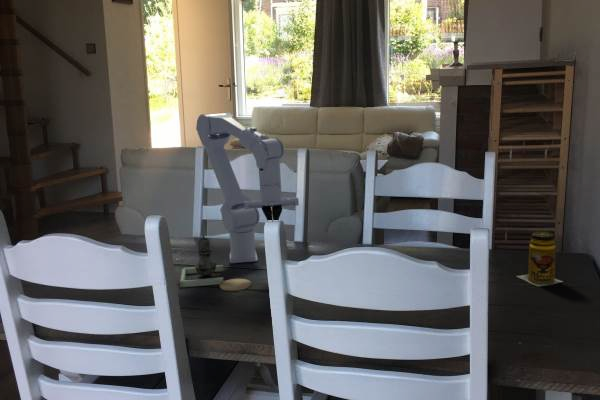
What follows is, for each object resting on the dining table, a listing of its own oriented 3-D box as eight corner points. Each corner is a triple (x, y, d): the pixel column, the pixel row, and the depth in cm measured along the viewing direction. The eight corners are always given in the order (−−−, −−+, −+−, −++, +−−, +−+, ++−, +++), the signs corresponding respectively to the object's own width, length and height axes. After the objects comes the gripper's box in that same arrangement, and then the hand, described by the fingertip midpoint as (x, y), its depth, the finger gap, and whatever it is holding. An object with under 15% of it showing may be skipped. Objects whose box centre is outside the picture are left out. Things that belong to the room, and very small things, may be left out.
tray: (183, 273, 167) (182, 268, 167) (223, 270, 169) (222, 265, 168) (180, 287, 156) (180, 281, 156) (223, 283, 157) (223, 278, 157)
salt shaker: (213, 282, 159) (209, 238, 157) (192, 281, 160) (188, 237, 158) (220, 275, 165) (217, 232, 162) (200, 274, 166) (196, 231, 163)
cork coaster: (219, 281, 159) (219, 280, 159) (250, 279, 160) (250, 277, 160) (219, 292, 151) (219, 290, 151) (251, 289, 152) (251, 287, 152)
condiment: (539, 287, 146) (541, 239, 143) (515, 277, 154) (517, 231, 151) (563, 282, 148) (565, 235, 146) (538, 272, 156) (540, 227, 154)
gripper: (243, 188, 158) (247, 238, 160) (299, 184, 160) (301, 234, 162) (242, 184, 165) (246, 232, 167) (295, 180, 166) (298, 228, 169)
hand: (273, 233), depth 165 cm, fingers closed
